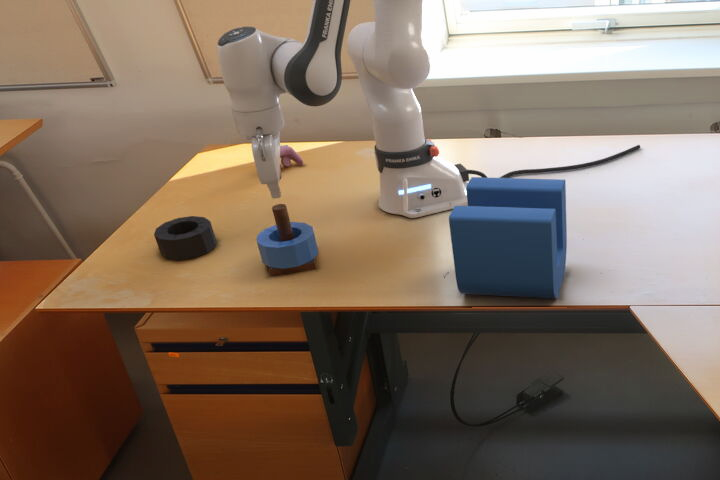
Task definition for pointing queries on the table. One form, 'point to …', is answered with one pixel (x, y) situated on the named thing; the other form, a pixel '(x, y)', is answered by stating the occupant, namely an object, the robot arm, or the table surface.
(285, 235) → the wooden stand
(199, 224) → the ring
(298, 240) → the blue tape
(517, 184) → the block
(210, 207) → the table surface
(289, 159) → the video game controller
